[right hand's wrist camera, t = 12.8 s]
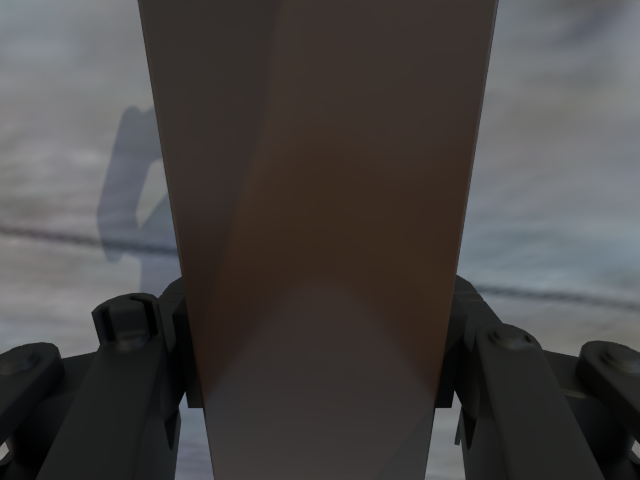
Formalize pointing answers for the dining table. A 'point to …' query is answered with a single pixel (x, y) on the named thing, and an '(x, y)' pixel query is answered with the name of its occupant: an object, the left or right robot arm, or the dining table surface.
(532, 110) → the dining table surface
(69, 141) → the dining table surface
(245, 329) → the walnut beam
